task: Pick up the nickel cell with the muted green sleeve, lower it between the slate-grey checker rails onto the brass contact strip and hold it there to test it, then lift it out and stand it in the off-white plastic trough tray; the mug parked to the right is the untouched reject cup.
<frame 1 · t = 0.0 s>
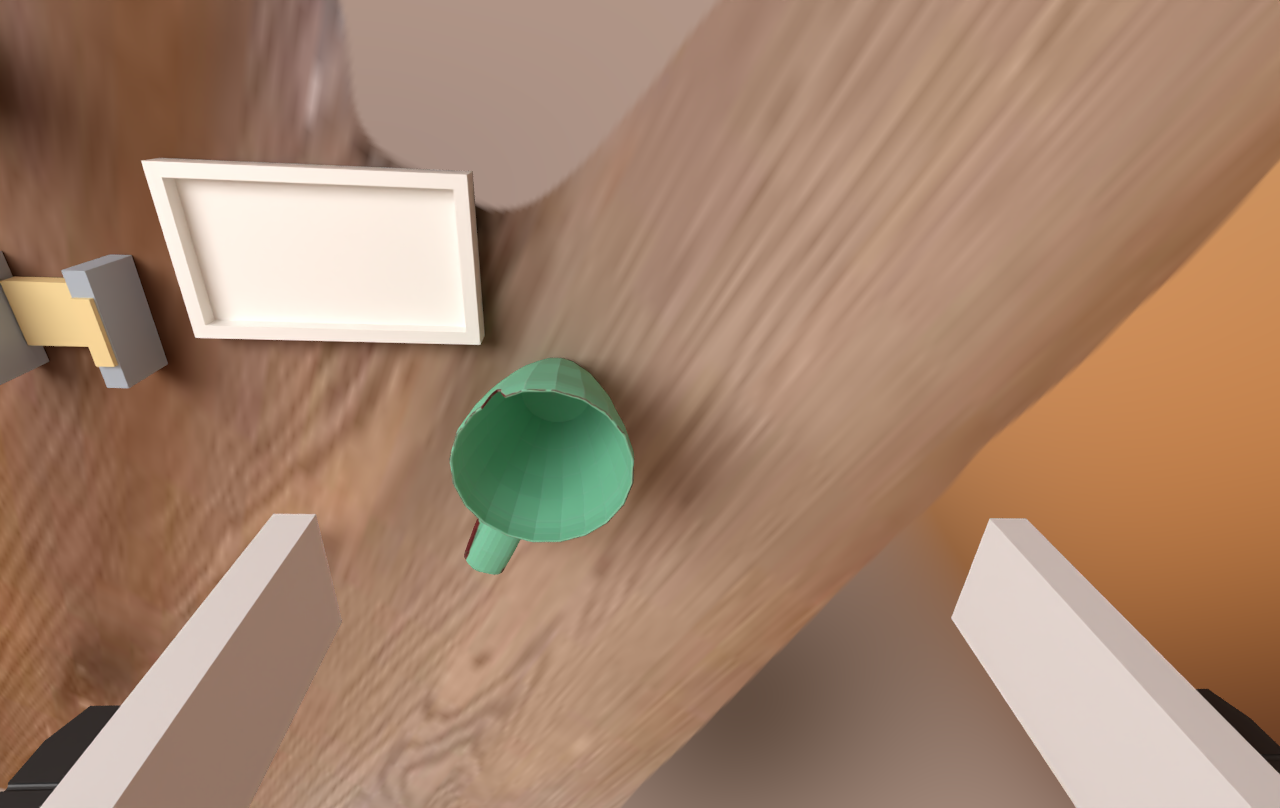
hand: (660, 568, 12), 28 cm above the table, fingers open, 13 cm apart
tray: (335, 253, 36), on the table
cradle: (78, 310, 37), on the table
mug: (542, 416, 42), on the table
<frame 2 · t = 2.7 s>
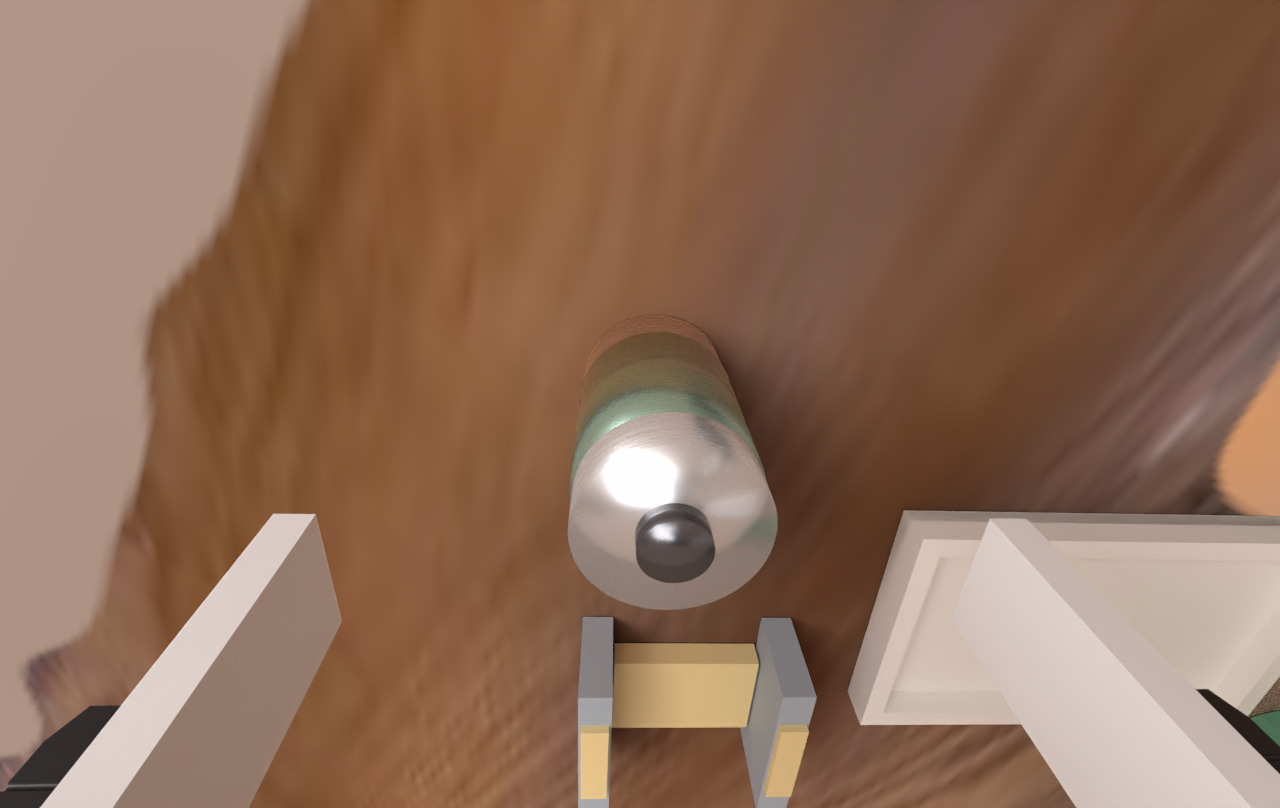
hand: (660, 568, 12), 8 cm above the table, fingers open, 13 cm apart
tray: (1074, 610, 25), on the table
cradle: (680, 676, 26), on the table
cell: (652, 379, 19), on the table
mug: (1214, 764, 31), on the table
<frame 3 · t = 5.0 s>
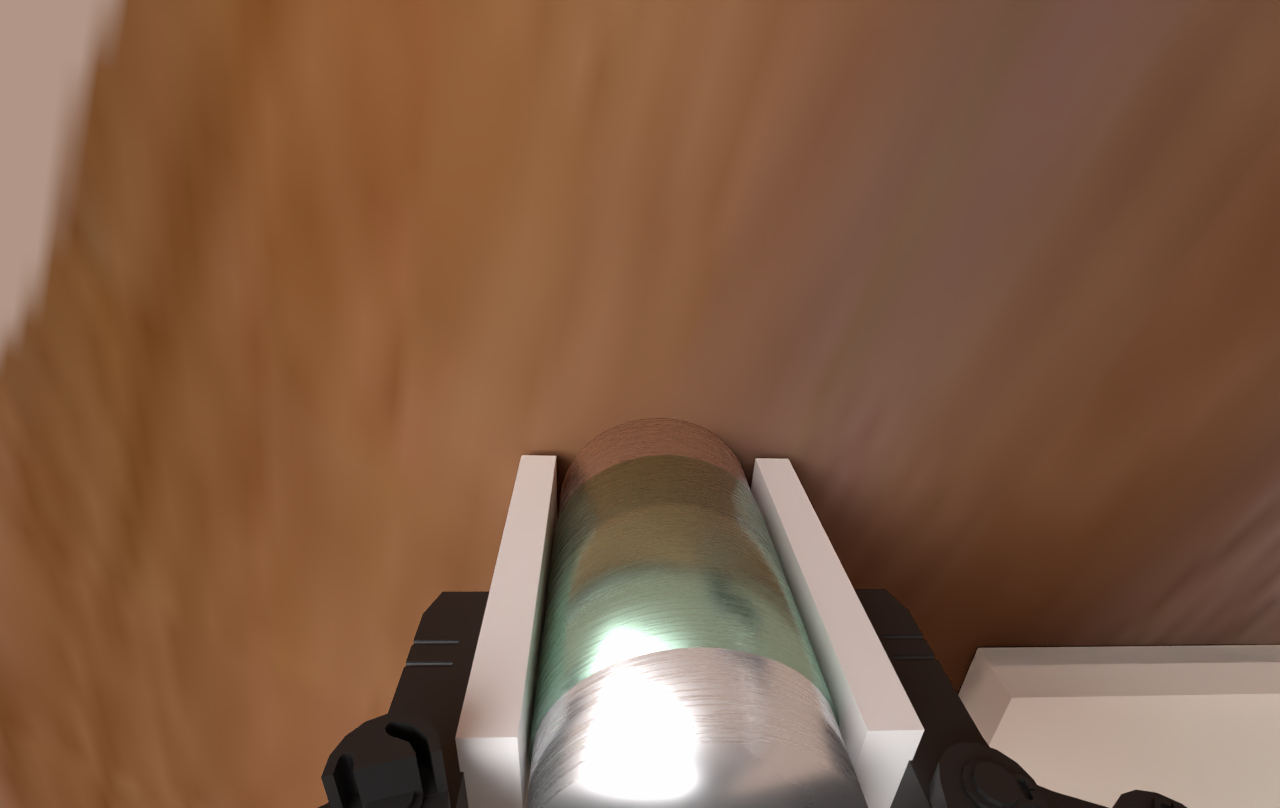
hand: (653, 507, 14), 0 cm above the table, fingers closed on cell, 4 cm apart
tray: (1179, 752, 20), on the table
cell: (654, 500, 14), on the table, touching gripper
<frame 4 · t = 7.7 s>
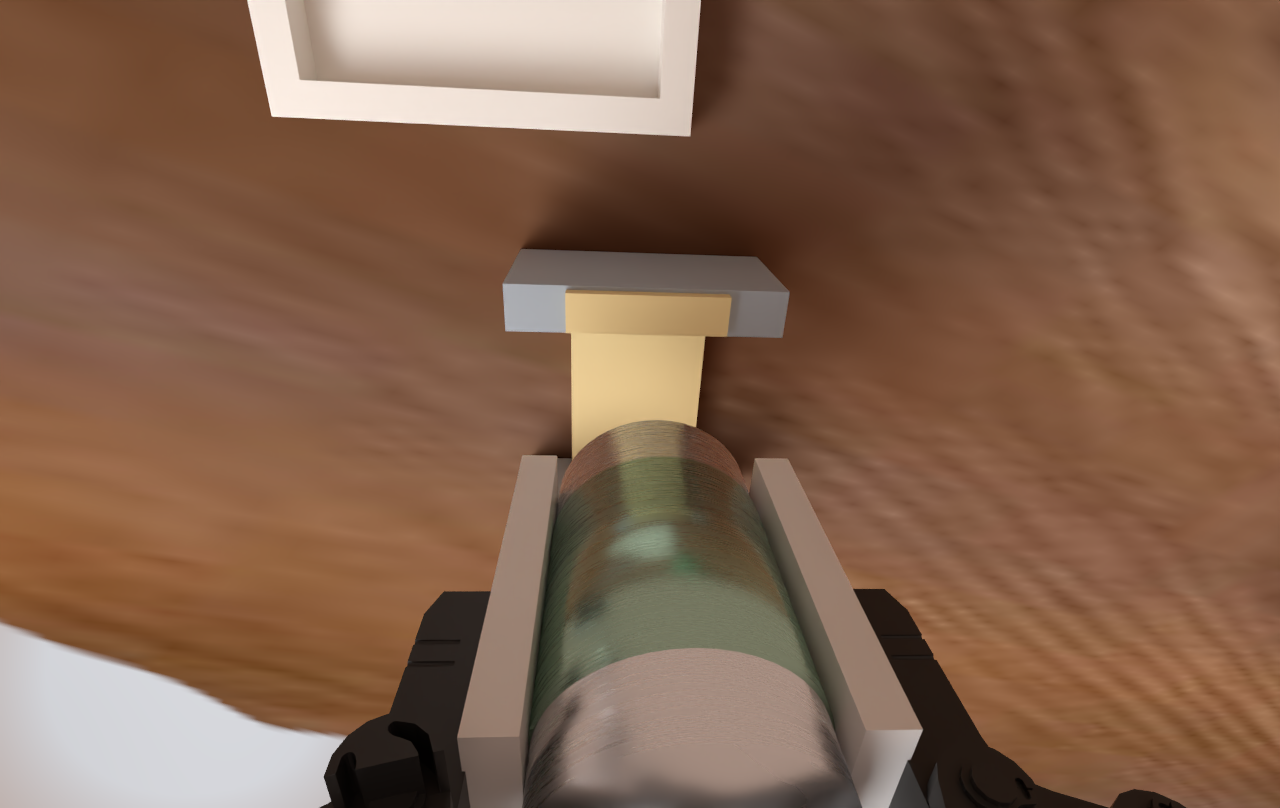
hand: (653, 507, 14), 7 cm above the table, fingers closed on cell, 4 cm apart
cradle: (634, 381, 20), on the table
cell: (652, 501, 14), point 6 cm above the table, touching gripper
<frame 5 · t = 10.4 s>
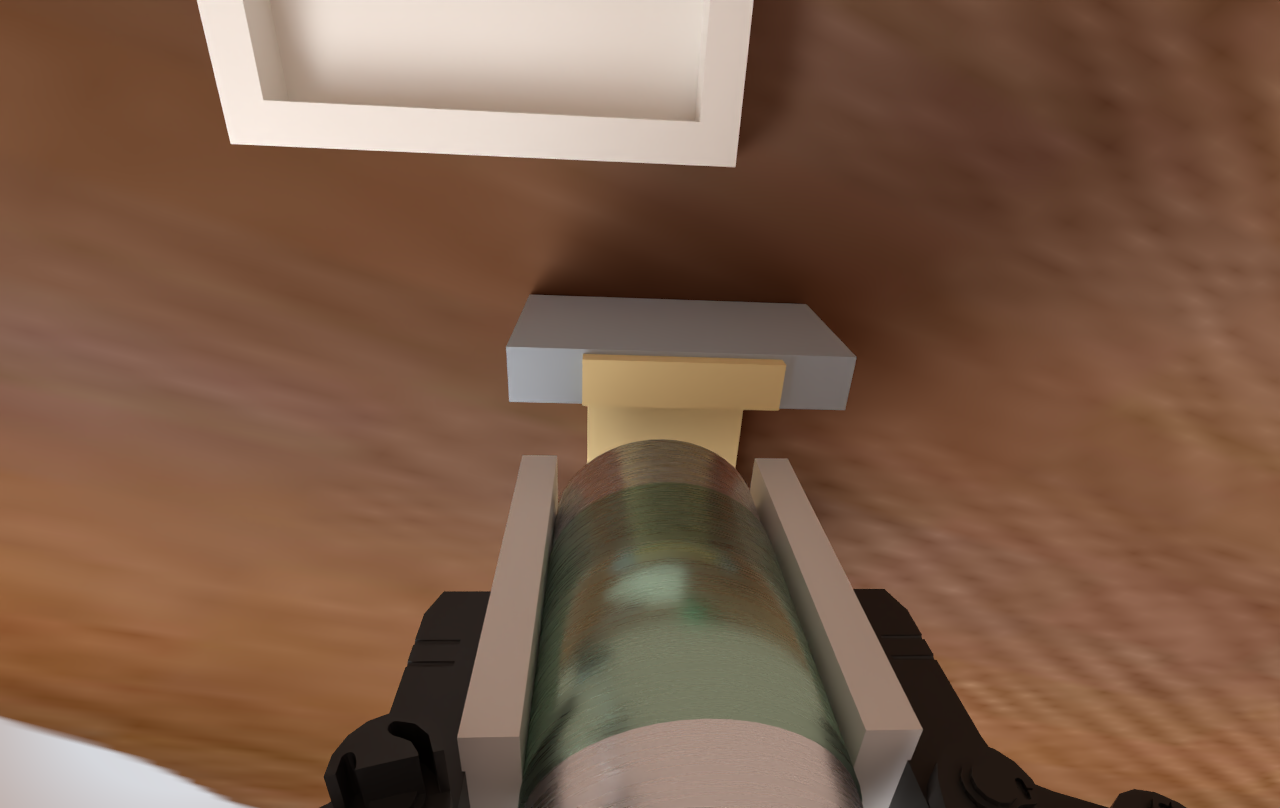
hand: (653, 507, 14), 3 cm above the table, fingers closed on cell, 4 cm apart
cradle: (659, 443, 17), on the table
cell: (655, 524, 13), point 4 cm above the table, touching gripper
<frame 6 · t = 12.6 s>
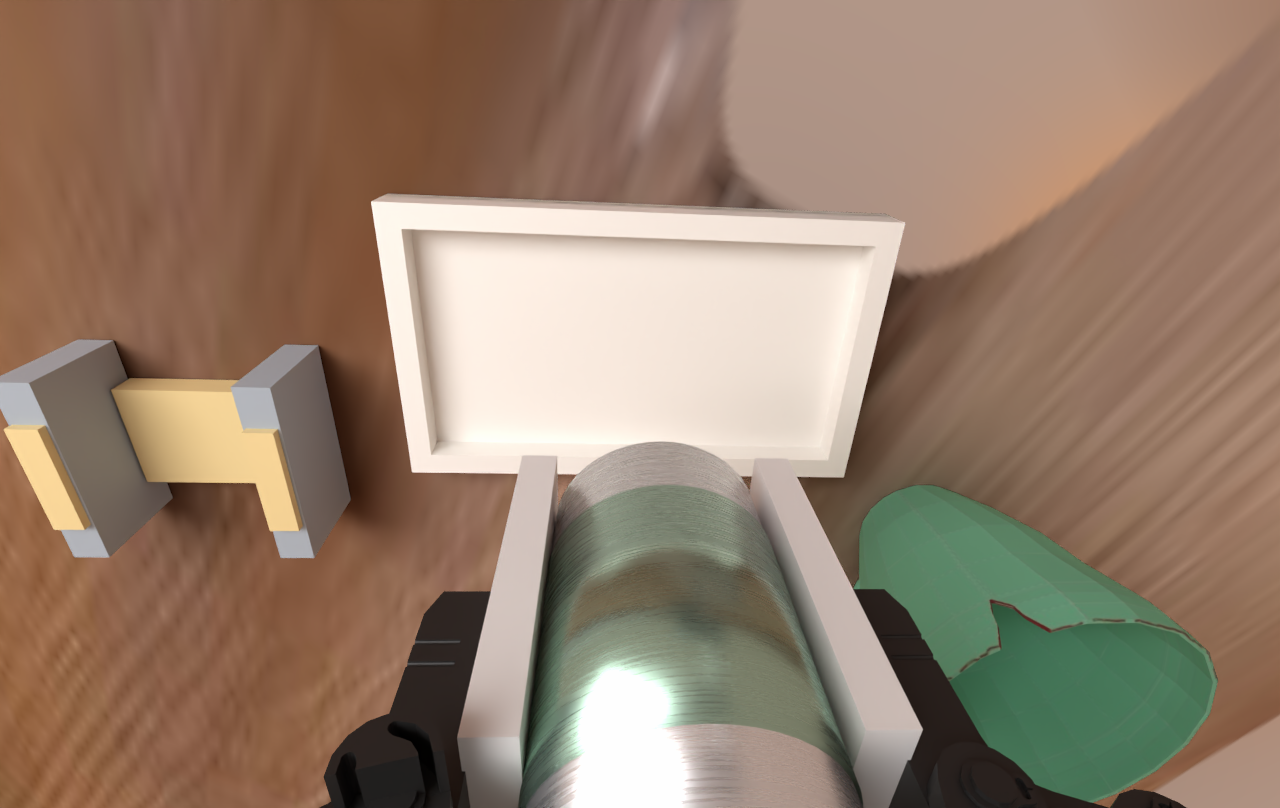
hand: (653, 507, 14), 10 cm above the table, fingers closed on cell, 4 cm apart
tray: (636, 341, 23), on the table
cradle: (225, 425, 24), on the table
cell: (655, 526, 13), point 11 cm above the table, touching gripper
mug: (876, 560, 29), on the table
when the fingers open (1 cm above the table, at t = 14.7 s): cell drops 1 cm, resting on tray.
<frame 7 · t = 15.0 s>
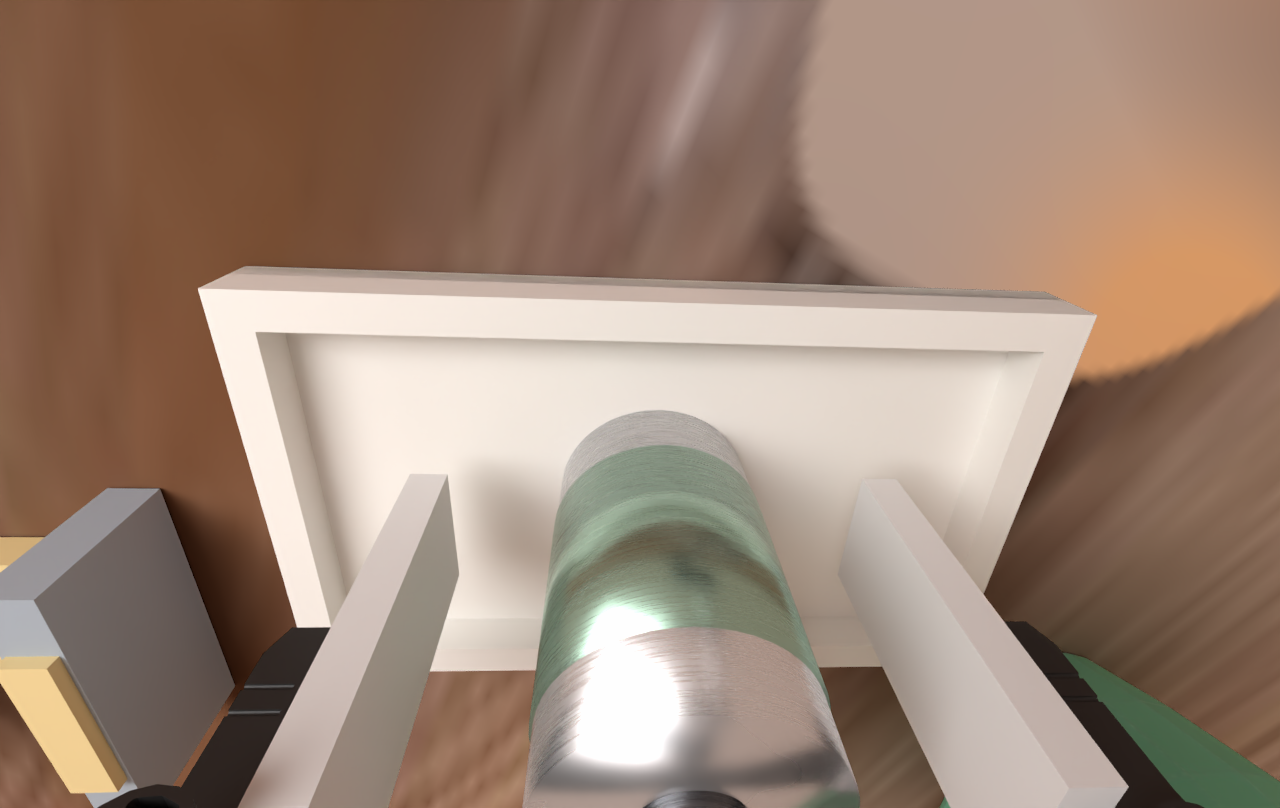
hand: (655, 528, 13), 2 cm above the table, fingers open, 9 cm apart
tray: (649, 476, 15), on the table
cradle: (33, 597, 16), on the table
cell: (653, 490, 15), point 1 cm above the table, touching tray
mug: (975, 740, 21), on the table
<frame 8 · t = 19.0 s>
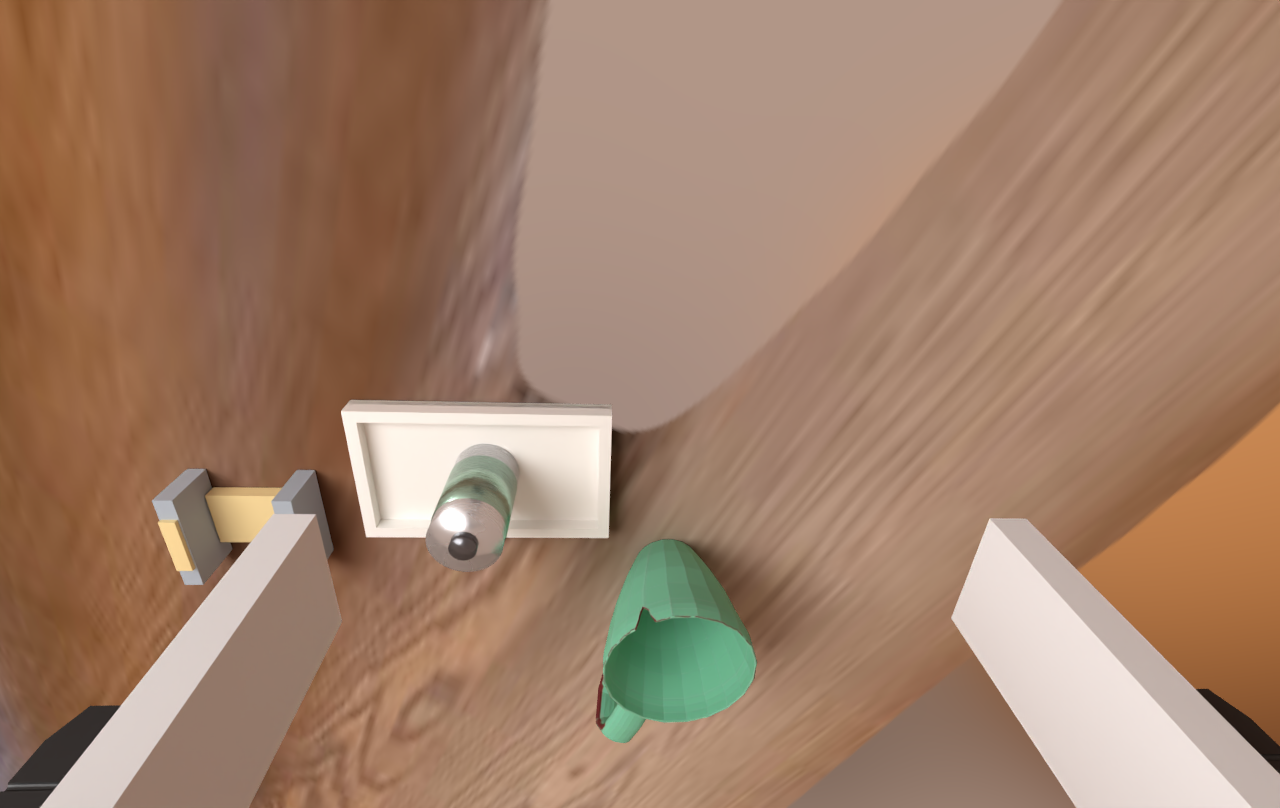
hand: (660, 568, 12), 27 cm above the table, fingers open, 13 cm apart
tray: (488, 466, 42), on the table
cradle: (263, 510, 43), on the table
cell: (487, 470, 42), point 1 cm above the table, touching tray
mug: (650, 582, 48), on the table
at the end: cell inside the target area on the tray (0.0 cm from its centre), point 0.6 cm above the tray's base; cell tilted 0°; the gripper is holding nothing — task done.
